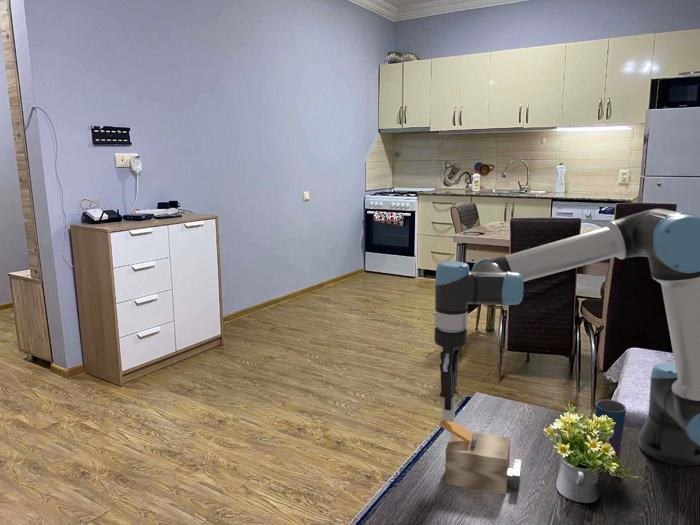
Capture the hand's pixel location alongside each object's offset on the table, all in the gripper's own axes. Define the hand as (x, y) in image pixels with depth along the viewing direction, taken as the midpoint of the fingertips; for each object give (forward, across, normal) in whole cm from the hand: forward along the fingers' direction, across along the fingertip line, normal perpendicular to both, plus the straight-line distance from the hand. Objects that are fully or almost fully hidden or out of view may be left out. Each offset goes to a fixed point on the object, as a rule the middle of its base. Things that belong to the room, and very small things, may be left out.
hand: (448, 419), depth 129 cm
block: (+14, 0, +8) cm, 16 cm away
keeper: (+3, 0, +2) cm, 4 cm away
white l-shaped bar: (+14, 0, +8) cm, 16 cm away
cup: (+13, -17, +38) cm, 43 cm away
